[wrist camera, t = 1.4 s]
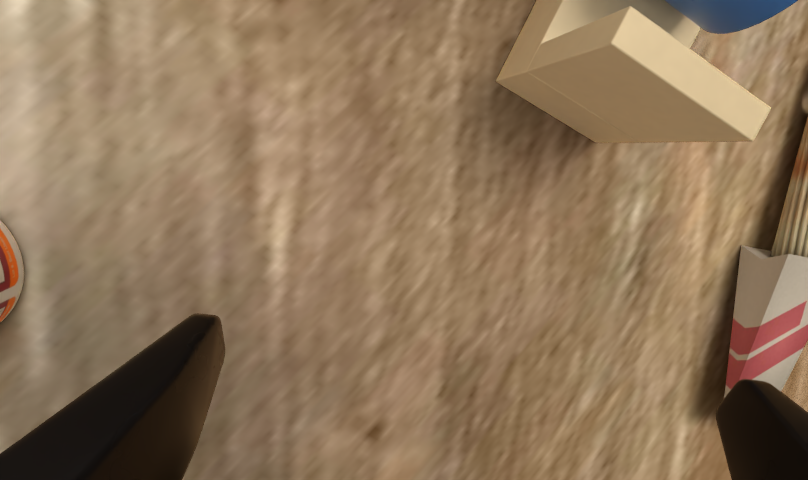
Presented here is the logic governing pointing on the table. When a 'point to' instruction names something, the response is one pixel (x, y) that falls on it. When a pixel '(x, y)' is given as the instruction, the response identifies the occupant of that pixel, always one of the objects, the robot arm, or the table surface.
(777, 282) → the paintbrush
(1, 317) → the pill bottle
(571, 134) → the table surface
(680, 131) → the tape dispenser
